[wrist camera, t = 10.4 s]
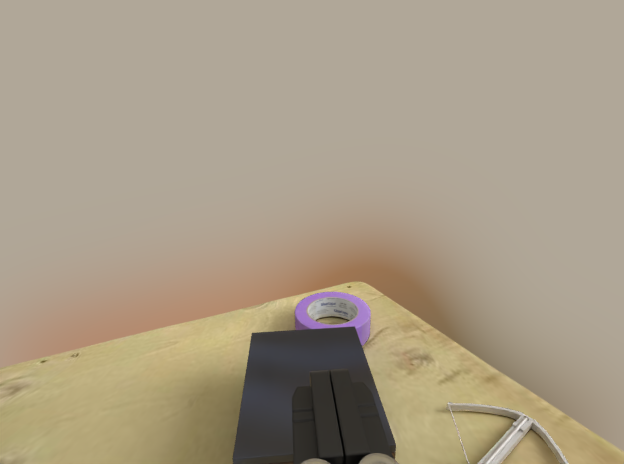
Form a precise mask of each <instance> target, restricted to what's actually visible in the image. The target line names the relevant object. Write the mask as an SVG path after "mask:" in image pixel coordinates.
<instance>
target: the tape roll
mask: <svg viewBox="0 0 624 464" xmlns="http://www.w3.org/2000/svg"><path fill="white" fill-rule="evenodd" d="M370 315H371V314H370V308H369V306H368V305H367V304H366V303H365V302H364V301H363V300H361V299H360V298H358V297H356V296H353V295H350V294H347V293H341V292H323V293H317V294H313V295H311V296H308V297H306V298H304V299H303V300H301V301H300V302H299V303H298V305H297V306H296V309H295V327H296V330H306V329H321V328H337V327H352V326H355V328H356V331H357V334H358V337H359V339H360V342H361V345H364V344H365V342H366V341H367V340H368V338H369V335H370ZM329 316H335V317H341V318H345V319H347V320H349V321H348V322H345V323H341V324H325V323H321V322H318V321H316V320H317V319H319V318H322V317H329Z"/></svg>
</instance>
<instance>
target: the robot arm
mask: <svg viewBox="0 0 624 464" xmlns="http://www.w3.org/2000/svg"><path fill="white" fill-rule="evenodd" d="M292 427H293V464H398V463H397V462H396V460H395V459H394V457H393V455H392V453H391V450H390V447H389V444H388V440H387V437H386V434H385V431H384V428H383V425H382V422H381V419H380V416H379V413H378V409H377V406H376V403H375V400H374V397H373V394H372V391H371V390H370V389H369V388H368V387H367V386H366V385H365V383H364V382H355V383H352V381H351V377H350V373H349V370H348V369H334V370H329V371H328V370H321V371H310V386H301V387H297V388H296V390H295V392H294V394H293V396H292Z"/></svg>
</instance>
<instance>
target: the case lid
mask: <svg viewBox="0 0 624 464" xmlns="http://www.w3.org/2000/svg"><path fill="white" fill-rule="evenodd" d="M334 369H348V370H349V373H350V377H351V381H352V383H355V382H364V383H365V385H366V386H367V387H368V388H369V389H370V390H371V391H372V394H373V397H374V400H375V403H376V406H377V409H378V413H379V416H380V419H381V422H382V425H383V428H384V431H385V434H386V437H387V440H388V444H389V447H390V450H391V452H395V451H396V443H395V441H394V438H393V435H392V432H391V429H390V426H389V423H388V420H387V417H386V415H385V412H384V409H383V406H382V403H381V400H380V397H379V394H378V391H377V389H376V386H375V383H374V380H373V377H372V374H371V371H370V368H369V365H368V363H367V360H366V357H365V354H364V351H363V348H362V345H361V342H360V339H359V337H358V334H357V331H356V328H355V326H352V327H337V328H321V329H306V330H291V331H275V332H260V333H252V336H251V343H250V349H249V356H248V362H247V369H246V375H245V382H244V388H243V395H242V401H241V408H240V414H239V421H238V427H237V434H236V440H235V447H234V453H233V464H269V463H280V462H291V461H293V427H292V396H293V394H294V392H295V390H296V388H297V387H301V386H310V371H321V370H328V371H329V370H334Z"/></svg>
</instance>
